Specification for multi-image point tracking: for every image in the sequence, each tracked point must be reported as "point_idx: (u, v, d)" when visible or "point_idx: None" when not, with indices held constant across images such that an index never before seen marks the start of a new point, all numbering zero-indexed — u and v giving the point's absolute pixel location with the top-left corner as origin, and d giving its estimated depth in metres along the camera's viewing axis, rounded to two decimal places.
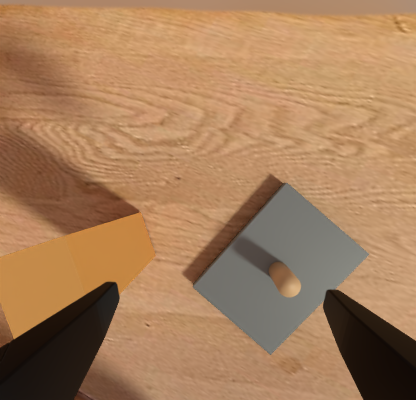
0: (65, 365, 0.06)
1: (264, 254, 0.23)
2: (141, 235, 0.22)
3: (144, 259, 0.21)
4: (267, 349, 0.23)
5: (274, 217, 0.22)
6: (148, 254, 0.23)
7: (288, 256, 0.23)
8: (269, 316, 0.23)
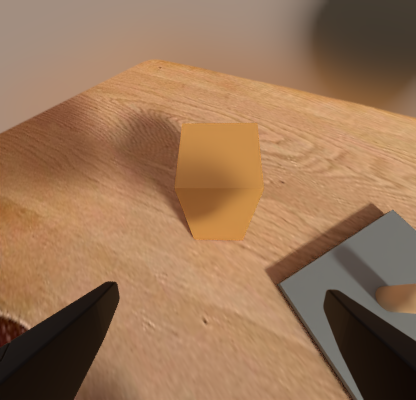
0: (65, 365, 0.06)
1: (370, 273, 0.20)
2: None
3: None
4: None
5: (381, 237, 0.22)
6: None
7: (399, 284, 0.20)
8: None
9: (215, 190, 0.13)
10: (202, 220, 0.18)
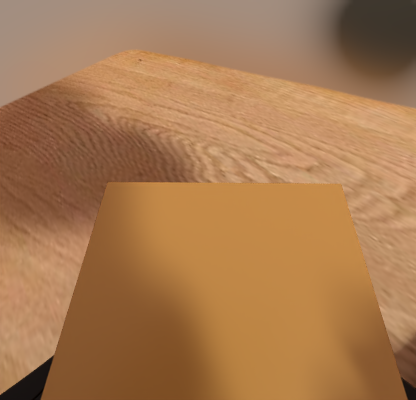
0: None
1: None
2: None
3: None
4: None
5: None
6: None
7: None
8: None
9: None
10: None
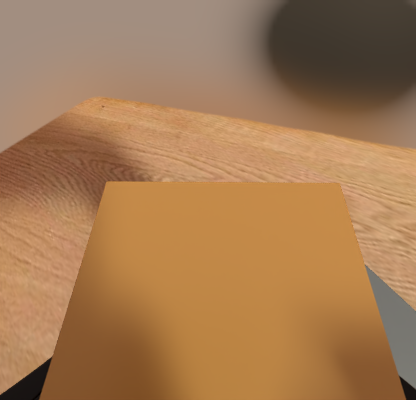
0: None
1: None
2: None
3: None
4: None
5: None
6: None
7: None
8: None
9: None
10: None
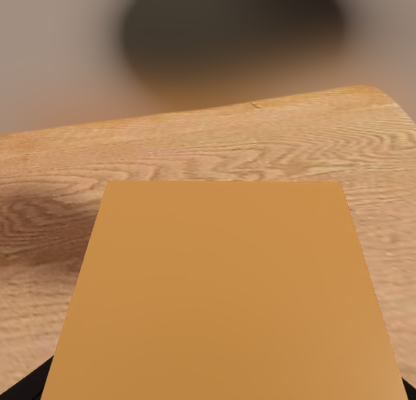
0: None
1: None
2: None
3: None
4: None
5: None
6: None
7: None
8: None
9: None
10: None
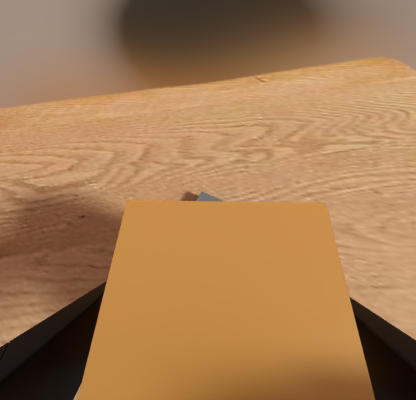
0: (64, 365, 0.06)
1: None
2: None
3: None
4: None
5: None
6: None
7: None
8: None
9: None
10: None
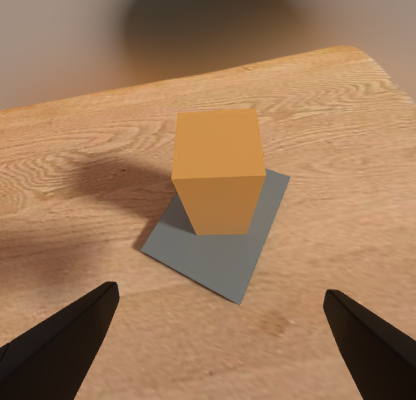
0: (65, 365, 0.06)
1: None
2: None
3: None
4: (234, 299, 0.20)
5: None
6: None
7: None
8: (224, 258, 0.21)
9: (214, 179, 0.12)
10: (203, 214, 0.17)
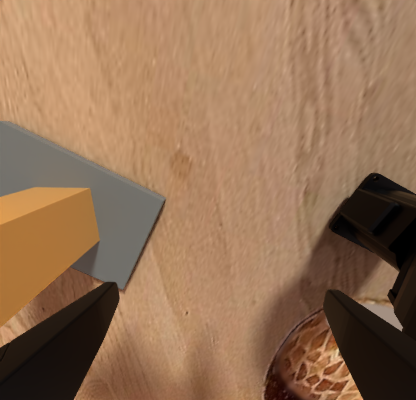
0: (65, 365, 0.06)
1: None
2: (42, 193, 0.18)
3: (58, 197, 0.16)
4: (158, 205, 0.19)
5: None
6: (67, 193, 0.18)
7: None
8: (119, 213, 0.20)
9: None
10: (47, 265, 0.15)
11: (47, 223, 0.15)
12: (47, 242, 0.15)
